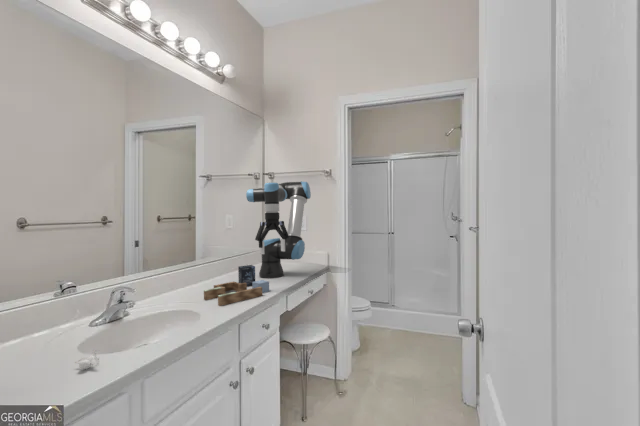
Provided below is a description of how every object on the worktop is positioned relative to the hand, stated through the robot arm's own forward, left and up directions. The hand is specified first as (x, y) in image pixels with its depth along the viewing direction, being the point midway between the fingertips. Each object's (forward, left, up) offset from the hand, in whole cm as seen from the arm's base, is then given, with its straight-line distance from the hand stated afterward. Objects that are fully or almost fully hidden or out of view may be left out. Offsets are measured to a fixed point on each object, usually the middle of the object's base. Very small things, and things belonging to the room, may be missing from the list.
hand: (273, 252), depth 166 cm
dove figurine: (+85, +32, -19) cm, 92 cm away
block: (+8, 0, -19) cm, 21 cm away
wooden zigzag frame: (+24, -3, -19) cm, 30 cm away
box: (+6, -17, -19) cm, 26 cm away
